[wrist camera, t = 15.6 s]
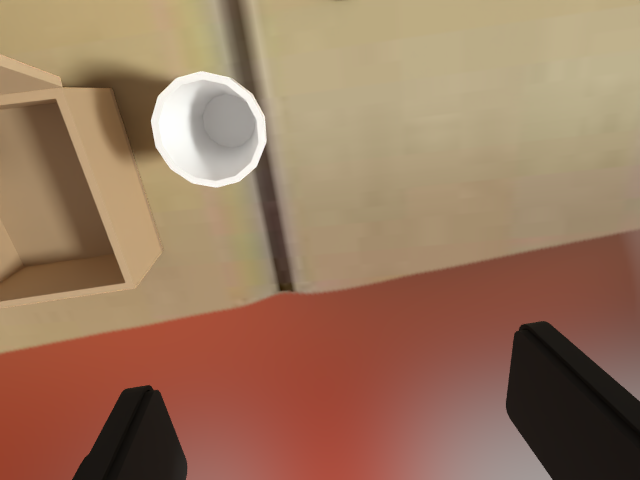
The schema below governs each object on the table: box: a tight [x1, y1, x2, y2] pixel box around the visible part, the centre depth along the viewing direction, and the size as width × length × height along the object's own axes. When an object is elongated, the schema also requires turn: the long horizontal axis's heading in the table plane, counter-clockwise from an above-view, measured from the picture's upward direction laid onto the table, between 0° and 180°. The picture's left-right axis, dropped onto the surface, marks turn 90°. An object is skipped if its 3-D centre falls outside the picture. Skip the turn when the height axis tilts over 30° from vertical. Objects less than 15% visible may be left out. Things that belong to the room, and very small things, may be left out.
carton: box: [0, 87, 164, 308], centre depth 39 cm, size 20×18×10 cm
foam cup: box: [151, 71, 266, 188], centre depth 36 cm, size 10×9×13 cm
